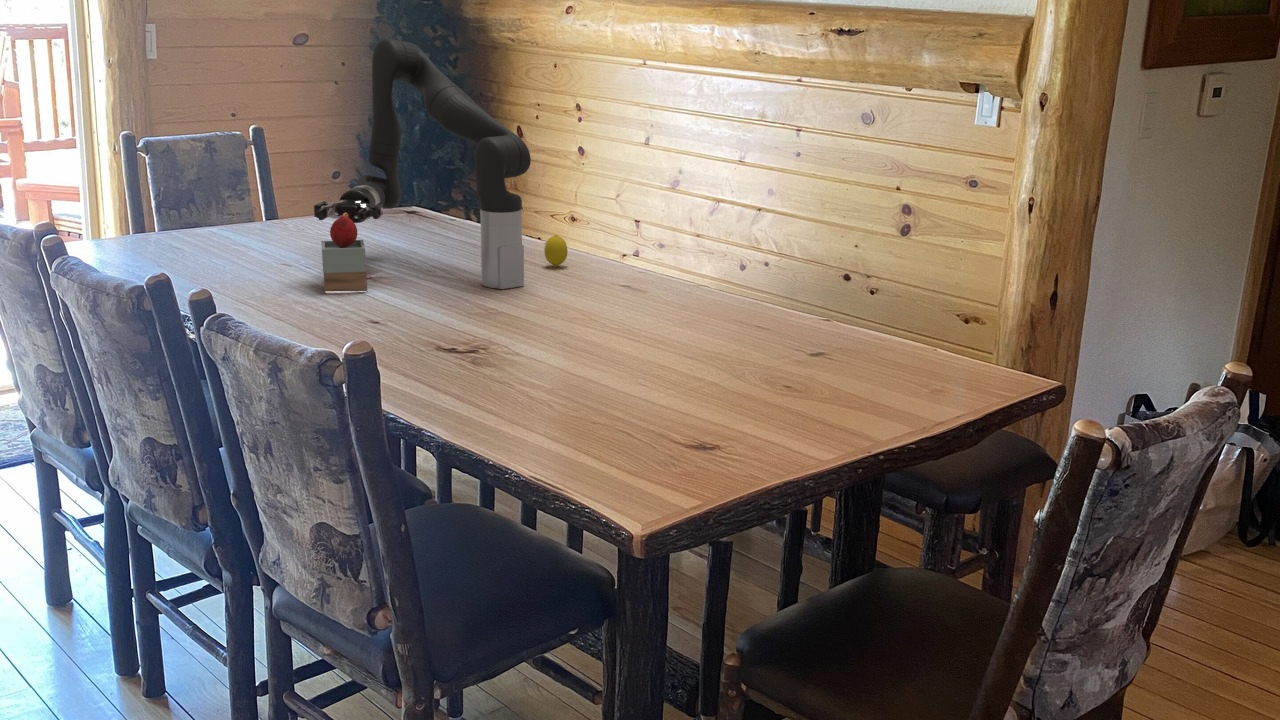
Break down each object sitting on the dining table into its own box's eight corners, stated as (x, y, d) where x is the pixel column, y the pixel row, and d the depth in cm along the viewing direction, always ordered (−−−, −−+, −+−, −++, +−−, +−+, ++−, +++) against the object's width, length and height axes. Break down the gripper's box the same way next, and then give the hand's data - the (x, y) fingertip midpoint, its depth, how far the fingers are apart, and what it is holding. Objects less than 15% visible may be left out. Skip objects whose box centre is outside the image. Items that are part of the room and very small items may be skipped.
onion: (350, 253, 252) (352, 216, 250) (324, 249, 252) (326, 212, 250) (360, 248, 257) (362, 213, 255) (335, 244, 258) (337, 209, 256)
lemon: (569, 265, 284) (569, 233, 282) (565, 270, 279) (565, 237, 277) (546, 264, 285) (546, 232, 283) (542, 269, 280) (542, 236, 277)
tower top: (366, 271, 253) (364, 248, 251) (323, 273, 251) (321, 249, 249) (364, 262, 261) (363, 239, 260) (322, 264, 259) (321, 241, 257)
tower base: (367, 293, 254) (366, 271, 253) (324, 295, 252) (323, 273, 251) (366, 284, 263) (365, 262, 261) (325, 285, 261) (323, 263, 259)
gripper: (328, 186, 265) (305, 197, 250) (390, 187, 265) (371, 199, 249) (330, 218, 267) (308, 232, 252) (391, 220, 267) (373, 234, 251)
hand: (339, 216), depth 251 cm, fingers open, 8 cm apart
